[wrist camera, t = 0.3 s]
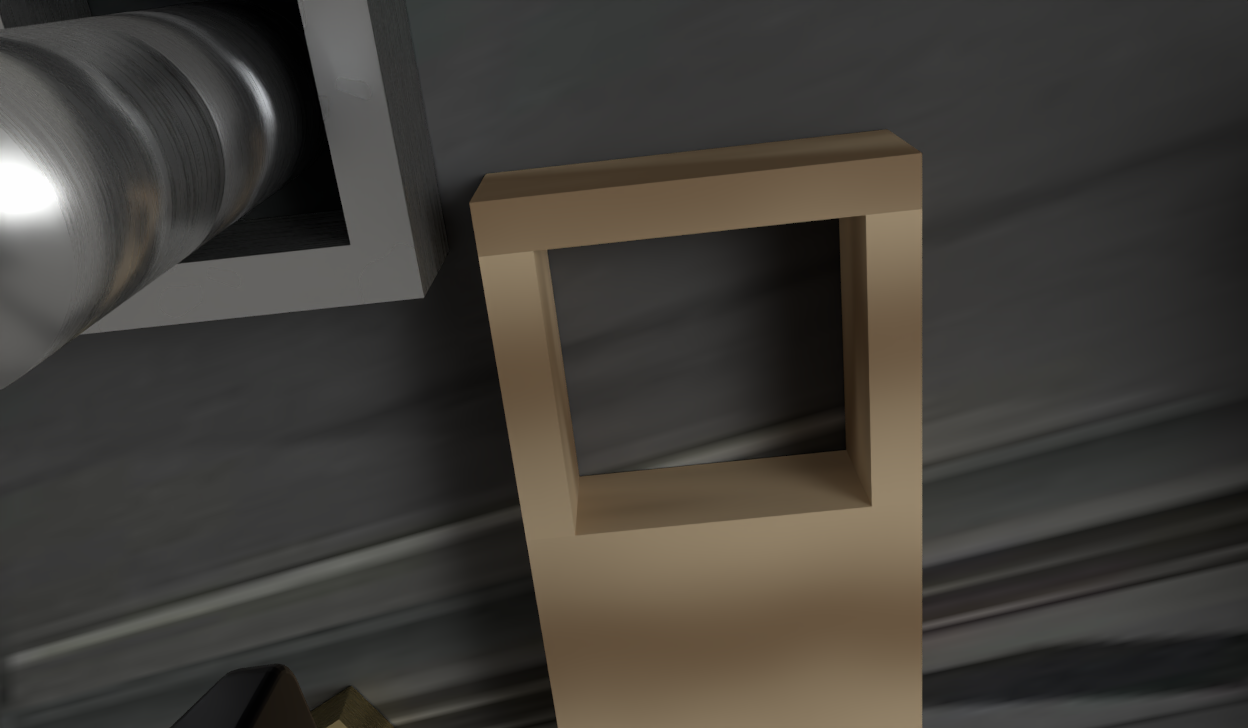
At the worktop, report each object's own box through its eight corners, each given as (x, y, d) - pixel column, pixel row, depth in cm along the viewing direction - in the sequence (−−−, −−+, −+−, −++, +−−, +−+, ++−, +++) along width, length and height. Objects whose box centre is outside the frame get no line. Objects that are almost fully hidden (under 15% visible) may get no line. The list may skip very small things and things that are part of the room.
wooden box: (894, 696, 26) (921, 770, 23) (575, 725, 26) (570, 802, 23) (887, 129, 20) (922, 153, 18) (485, 173, 21) (469, 202, 18)
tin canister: (350, 178, 21) (112, 387, 11) (174, 198, 21) (-216, 421, 11) (310, -12, 19) (-2, 33, 10) (123, 10, 19) (-375, 77, 10)
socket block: (449, 251, 21) (424, 297, 18) (117, 287, 21) (42, 338, 19) (382, -123, 19) (340, -134, 16) (4, -76, 19) (-103, -80, 16)
